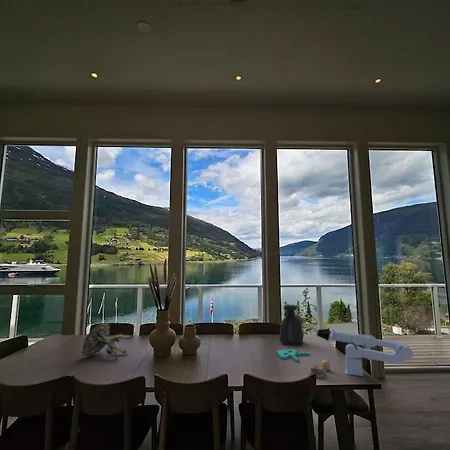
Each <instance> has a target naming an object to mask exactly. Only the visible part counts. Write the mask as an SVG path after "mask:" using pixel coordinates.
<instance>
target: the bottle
mask: <svg viewBox="0 0 450 450" xmlns="http://www.w3.org/2000/svg"><path fill="white" fill-rule="evenodd" d="M283 310H284V311H287V312H286V315H285V317H284V318H283V319H282V320H281V324H280V330H279V337H278V338H279V341H280V343H281V344H283V345H290V346H291V345H292V346H300V345H302V343H303V341H304V330H303V324H302V322H301V319H300V318H299V317H298V316H297V315H296V312H295V311H296V310H298V305H296V304H285V305H283Z"/></svg>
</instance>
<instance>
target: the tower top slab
mask: <svg viewBox="0 0 450 450" xmlns="http://www.w3.org/2000/svg"><path fill="white" fill-rule="evenodd" d="M310 371H311V373H317V374H323V366H322V365H315V364H311V367H310Z"/></svg>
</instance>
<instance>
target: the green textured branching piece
mask: <svg viewBox="0 0 450 450" xmlns="http://www.w3.org/2000/svg"><path fill="white" fill-rule="evenodd" d="M110 327H111V326H110V324H109V323H107V322H105V323H104V322H103V323H100V324H98V325H96V326H95V327H94V328H93V329H91V330H90V331H89V332H88V333H87V335H86V337H85V338H84V341H83V344H82V351H81V353H82V356H84V357H93V356H94V355H96V354H97V353H99V352H100V351H101V350H102V349H103V348H105V347H106V345H107V348H106V350H105V351H106V354H107V355H111V356H114V359H115V360H116V361H117V360H118V358H119V356H118V354H117V351H119V352H121V353H122V354H123V355H125V356H126V355H127V356H128V352H127V351H126V349H124V348H122V347H121V346H119V345H118V344H117V343H119V342H120V339H124V340H130V339H131V335H129V334H123V333H119V334H116V335H113V336H111V337H109V335H110V330H111V328H110ZM115 342H117V343H115ZM92 355H93V356H92Z"/></svg>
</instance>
